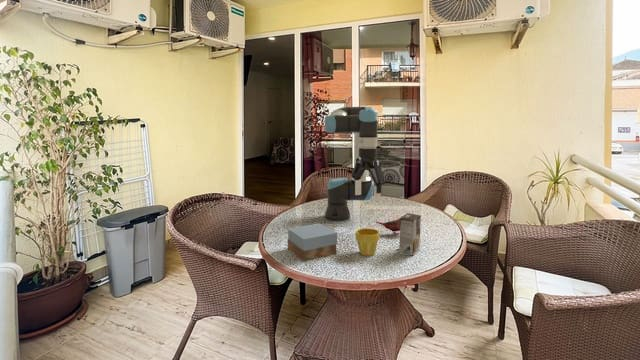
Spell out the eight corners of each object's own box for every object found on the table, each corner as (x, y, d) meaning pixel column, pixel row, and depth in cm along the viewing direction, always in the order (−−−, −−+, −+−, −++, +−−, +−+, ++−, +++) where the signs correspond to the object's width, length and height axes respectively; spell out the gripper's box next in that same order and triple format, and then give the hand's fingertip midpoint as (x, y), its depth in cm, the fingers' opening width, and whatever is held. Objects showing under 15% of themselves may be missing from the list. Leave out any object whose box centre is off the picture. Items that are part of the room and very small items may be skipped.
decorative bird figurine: (410, 235, 172) (411, 216, 171) (374, 234, 175) (374, 215, 174) (409, 233, 175) (410, 214, 173) (374, 232, 178) (374, 213, 176)
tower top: (319, 233, 163) (319, 223, 162) (337, 243, 149) (337, 232, 149) (288, 239, 156) (288, 228, 155) (304, 250, 142) (303, 239, 141)
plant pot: (353, 249, 156) (353, 228, 154) (375, 248, 156) (376, 227, 155) (357, 258, 145) (357, 236, 144) (381, 257, 146) (382, 235, 144)
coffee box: (406, 247, 157) (407, 212, 155) (420, 249, 154) (421, 214, 151) (398, 253, 150) (399, 217, 147) (412, 256, 146) (414, 220, 144)
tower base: (318, 243, 164) (318, 233, 163) (336, 254, 150) (336, 243, 150) (287, 249, 157) (287, 239, 156) (303, 262, 143) (303, 250, 142)
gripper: (344, 146, 152) (344, 193, 156) (379, 150, 130) (378, 204, 134) (358, 145, 155) (357, 191, 159) (395, 149, 134) (393, 202, 137)
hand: (367, 197), depth 147 cm, fingers open, 13 cm apart
